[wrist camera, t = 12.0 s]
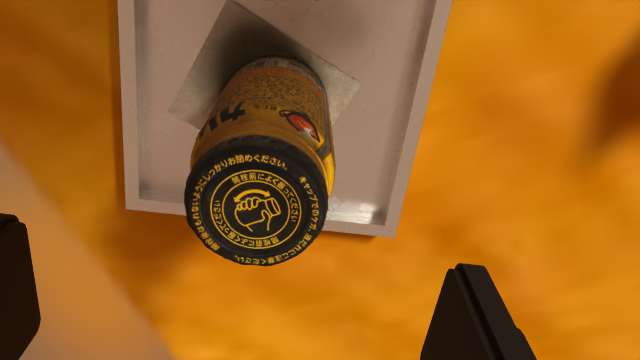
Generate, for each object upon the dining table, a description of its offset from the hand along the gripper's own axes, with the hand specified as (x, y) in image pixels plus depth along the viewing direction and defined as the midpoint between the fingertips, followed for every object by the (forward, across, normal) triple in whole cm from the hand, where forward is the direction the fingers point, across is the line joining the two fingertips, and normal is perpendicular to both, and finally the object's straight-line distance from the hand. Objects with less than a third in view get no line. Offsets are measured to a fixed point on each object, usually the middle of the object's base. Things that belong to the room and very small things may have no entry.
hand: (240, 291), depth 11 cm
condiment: (+18, +1, +1) cm, 19 cm away
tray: (+19, 0, +1) cm, 19 cm away
